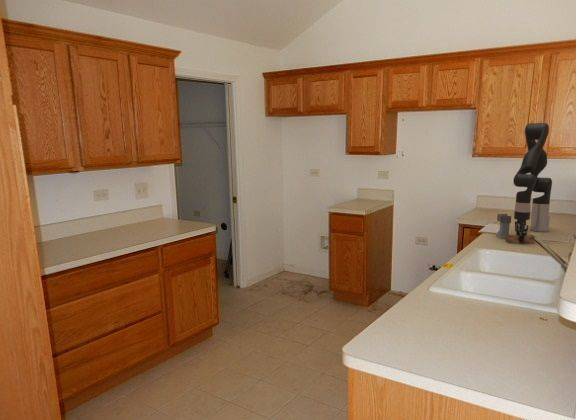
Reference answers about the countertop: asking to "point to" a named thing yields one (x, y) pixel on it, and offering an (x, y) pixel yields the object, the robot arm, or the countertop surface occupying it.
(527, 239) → the rail
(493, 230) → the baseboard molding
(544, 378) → the countertop surface
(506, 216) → the bracket stand
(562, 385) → the countertop surface
